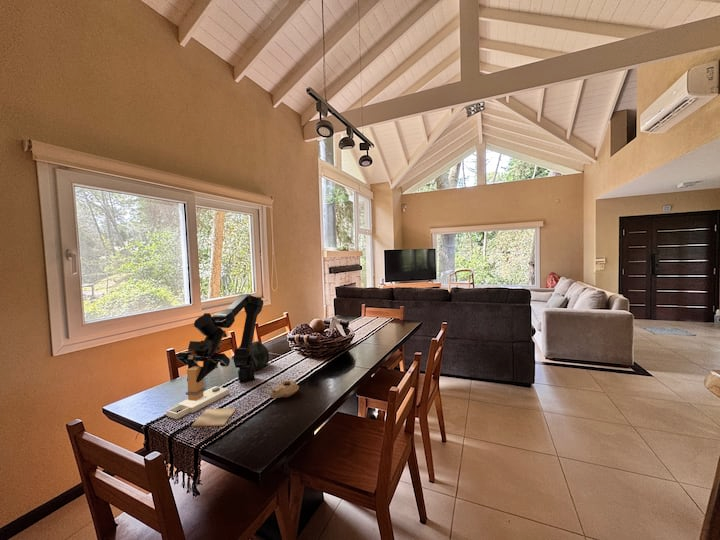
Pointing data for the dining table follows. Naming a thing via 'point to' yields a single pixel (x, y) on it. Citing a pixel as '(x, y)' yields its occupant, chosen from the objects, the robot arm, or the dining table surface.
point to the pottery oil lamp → (284, 389)
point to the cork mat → (214, 417)
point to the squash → (260, 354)
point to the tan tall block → (194, 384)
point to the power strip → (197, 402)
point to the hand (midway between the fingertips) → (192, 381)
